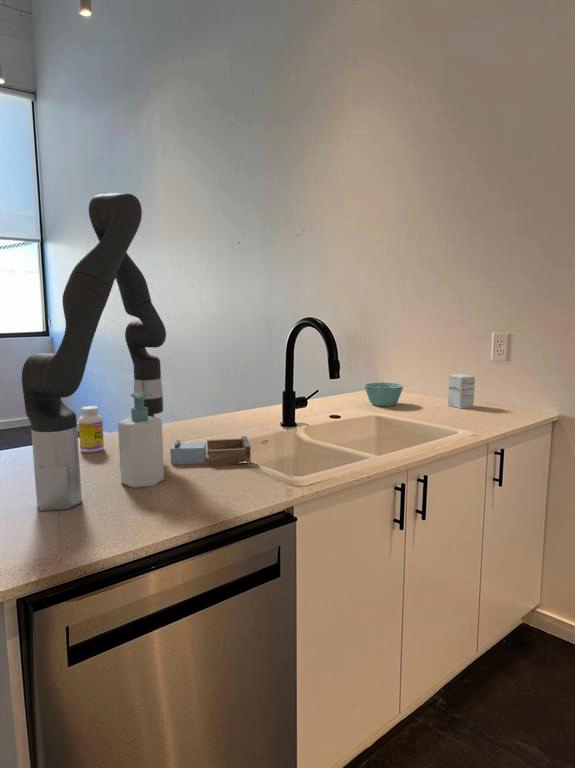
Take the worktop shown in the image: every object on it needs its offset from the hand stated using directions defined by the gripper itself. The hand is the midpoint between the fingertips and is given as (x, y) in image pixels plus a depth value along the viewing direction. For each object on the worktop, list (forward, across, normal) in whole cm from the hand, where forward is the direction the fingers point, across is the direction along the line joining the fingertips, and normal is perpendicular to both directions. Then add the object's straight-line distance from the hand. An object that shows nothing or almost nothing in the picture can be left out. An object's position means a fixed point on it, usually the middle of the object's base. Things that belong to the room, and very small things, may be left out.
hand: (151, 457), depth 158 cm
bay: (+1, 0, -20) cm, 20 cm away
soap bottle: (+2, -16, +1) cm, 16 cm away
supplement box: (+2, +56, -118) cm, 131 cm away
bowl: (+2, +66, -89) cm, 111 cm away
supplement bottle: (+2, +16, +18) cm, 24 cm away
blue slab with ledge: (+2, 0, -10) cm, 10 cm away
